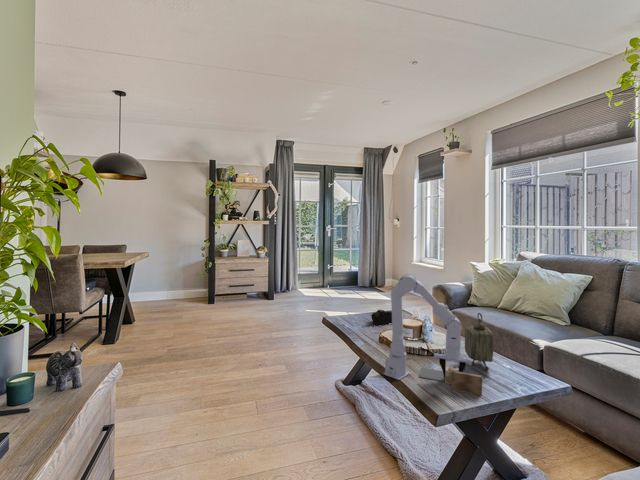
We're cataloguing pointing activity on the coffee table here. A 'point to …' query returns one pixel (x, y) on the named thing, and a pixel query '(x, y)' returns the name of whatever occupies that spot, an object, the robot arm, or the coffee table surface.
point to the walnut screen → (466, 382)
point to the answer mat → (432, 374)
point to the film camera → (381, 317)
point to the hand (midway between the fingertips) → (451, 378)
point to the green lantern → (479, 342)
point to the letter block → (449, 374)
